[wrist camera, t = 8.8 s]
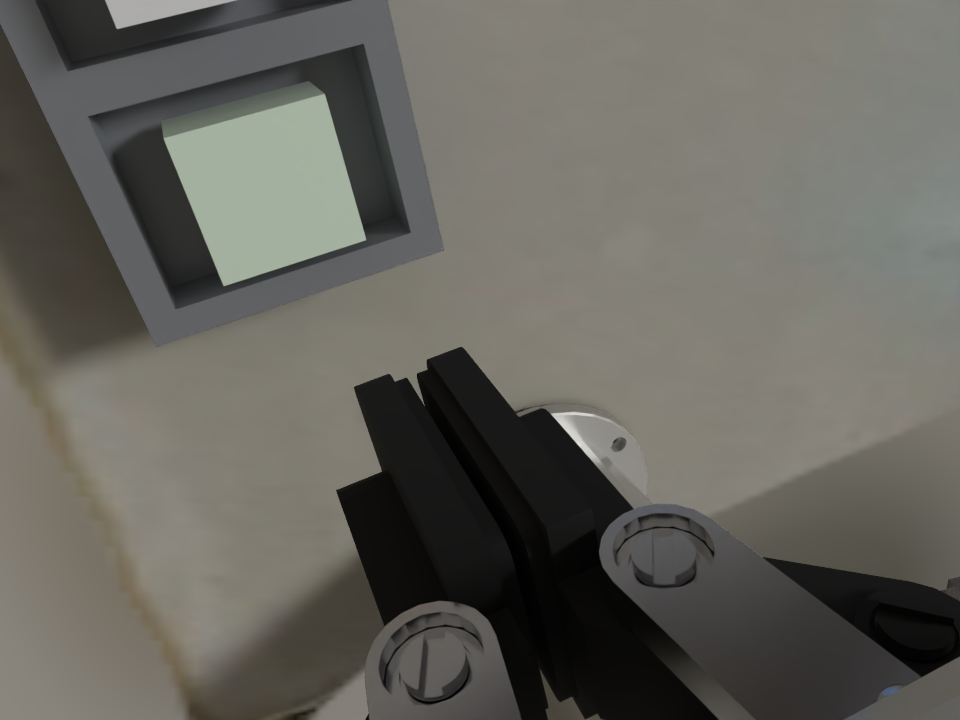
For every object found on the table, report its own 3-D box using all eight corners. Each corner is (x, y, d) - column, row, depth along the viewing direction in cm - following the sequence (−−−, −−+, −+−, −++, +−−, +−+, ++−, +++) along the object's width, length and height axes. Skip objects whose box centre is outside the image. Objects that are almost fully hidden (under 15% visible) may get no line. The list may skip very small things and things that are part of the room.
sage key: (348, 217, 26) (366, 240, 24) (216, 258, 25) (223, 286, 23) (309, 80, 24) (325, 93, 22) (161, 121, 23) (163, 138, 21)
